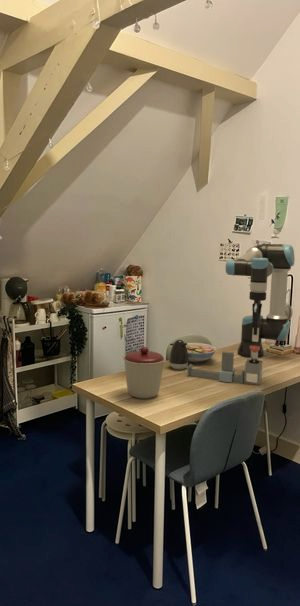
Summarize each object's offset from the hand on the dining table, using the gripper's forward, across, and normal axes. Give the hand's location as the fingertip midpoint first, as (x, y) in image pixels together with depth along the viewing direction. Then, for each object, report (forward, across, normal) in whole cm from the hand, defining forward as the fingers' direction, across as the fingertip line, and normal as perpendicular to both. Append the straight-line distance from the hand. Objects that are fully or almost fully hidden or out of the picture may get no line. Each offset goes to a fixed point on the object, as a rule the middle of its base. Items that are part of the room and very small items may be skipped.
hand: (255, 341), depth 210 cm
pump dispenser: (+20, -7, -39) cm, 44 cm away
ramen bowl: (+20, -25, -35) cm, 47 cm away
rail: (+20, +2, -18) cm, 27 cm away
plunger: (+10, 0, 0) cm, 10 cm away
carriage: (+20, +2, -12) cm, 23 cm away
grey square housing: (+20, 0, 0) cm, 20 cm away
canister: (+20, +37, -41) cm, 59 cm away
